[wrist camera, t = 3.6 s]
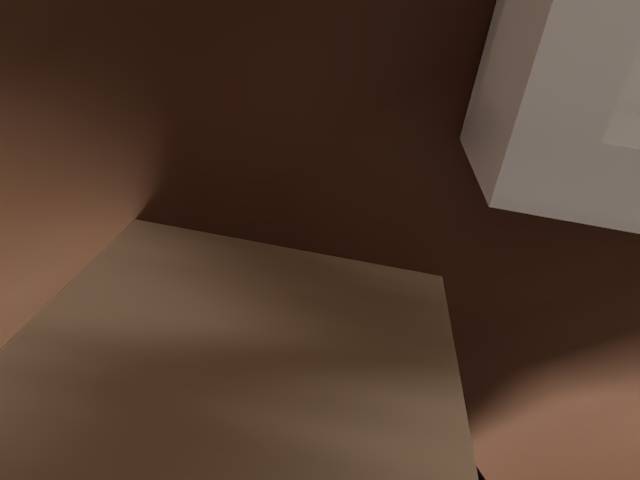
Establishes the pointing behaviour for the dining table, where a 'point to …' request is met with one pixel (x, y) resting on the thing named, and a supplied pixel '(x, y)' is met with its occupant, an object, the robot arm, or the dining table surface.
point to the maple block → (234, 369)
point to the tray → (559, 111)
